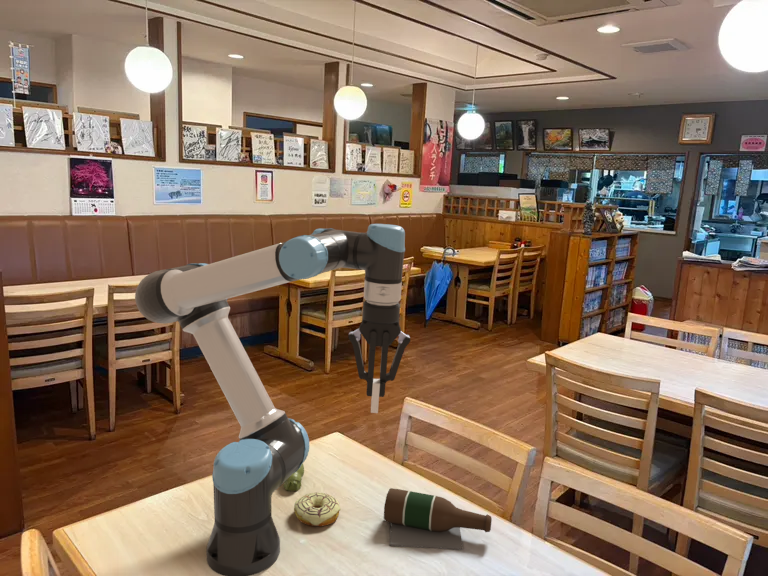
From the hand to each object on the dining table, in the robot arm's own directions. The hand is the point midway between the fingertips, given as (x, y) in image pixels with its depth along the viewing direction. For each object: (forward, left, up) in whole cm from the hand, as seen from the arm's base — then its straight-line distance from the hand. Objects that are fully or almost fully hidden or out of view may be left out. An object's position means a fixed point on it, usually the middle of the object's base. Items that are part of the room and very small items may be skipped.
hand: (374, 410), depth 118 cm
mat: (+12, +6, -31) cm, 34 cm away
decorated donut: (-13, +9, -32) cm, 36 cm away
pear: (-22, +24, -32) cm, 45 cm away
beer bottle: (+3, +9, -27) cm, 29 cm away
